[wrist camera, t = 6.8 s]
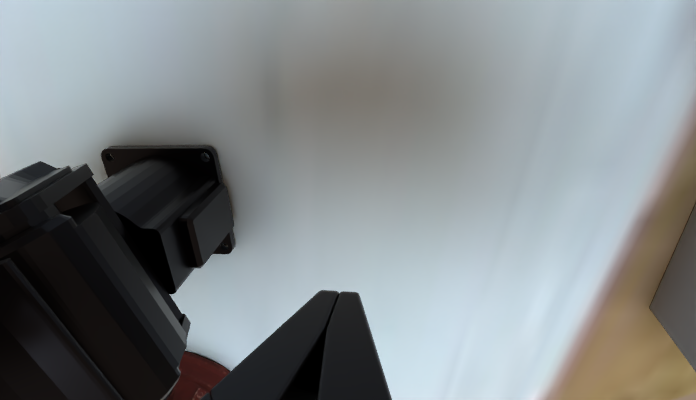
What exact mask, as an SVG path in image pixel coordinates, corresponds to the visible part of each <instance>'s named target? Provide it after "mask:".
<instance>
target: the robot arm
mask: <svg viewBox="0 0 696 400" xmlns="http://www.w3.org/2000/svg"><path fill="white" fill-rule="evenodd" d="M204 153H207V154H208V155H209V157H210V159H207V158H205V156H204ZM110 154H112V155H113V156H114V159H113V158H112V157H111V156H110ZM101 157H102V161H103V164H104V167H105V170H106V173H107V176H108V178H107V179H106V180H104V181H102V182H101V183H99V184H98V185H97V184H96V182H95V181H94V179H93V178H92V176H93V175H94V174H93V173H92V171H91V170H90V168H89V167H88V165H87V164H86V163H85V164H83V165H80V166H77V167H75V168H72V169H71V168H70V167H69V166H67V167H64V168H61V169H60V168H58V169H57V168H55V167H52V166H50V165H48V164H46V163H43V162H41V161H40V162H37V163H35V164H32V165H30V166H27V167H25V168H23V169H21V170H19V171H16V172H14V173H12V174H10V175H8V176H5V177H3V178H1V179H0V400H167V398H168V396H169V395H170V393H171V391H172V389H173V387H174V386H175V385H176V383H177V382H178V380H179V377H180V374H181V371H180V370H179V365H180V362H181V358H182V356H183V354H184V351H185V349H186V347H187V341H186V339H187V335H188V332H189V328H190V324H191V323H190V321H189V320H188V318H187V317H186V315H185V314H182V313H181V312H180V310H179V309H178V307H177V306H176V304H175V303H174V301H173V300H172V298H171V297H170V295H169V294H174V293H175V292H176V291H177V290H178V289H179V287H180V286H181V285H182V283H183V282H184V281H185V280H186V278H187V277H188V276H189V275H190V273H191V272H192V271H193V270H194V268H201V267H202V266H203V265H204V264H205V263H206V261H207V260H208V259H209V258H210V256H211V255H212V254H229V253H231V252H232V250H233V249H234V247H235V241H234V236H233V231H232V228H233V226H234V222H233V217H232V212H231V207H230V202H229V197H228V192H227V187H226V186H225V185H224V184H223V181H222V176H221V171H220V166H219V161H218V156H217V153H216V151H215V150H214V149H213V148H212V147H210V146H111V147H108V148H106V149H104V150H103V151H102V153H101ZM223 243H225V244H227V245H228V247H226V246H224V245H223ZM200 400H392V398H391V395H390V392H389V389H388V385H387V382H386V379H385V376H384V372H383V369H382V366H381V363H380V360H379V356H378V353H377V350H376V347H375V344H374V340H373V337H372V334H371V331H370V328H369V324H368V321H367V318H366V315H365V312H364V308H363V305H362V302H361V299H360V296H359V294H358V293H357V292H341V293H340V294H339V292H337V291H327V290H321V291H319V292H318V293H317V294H316V295H315V296H314V297H313V298H311V299H310V300H309V301H308V302H307V303H306V304H305V305H304V306H303V307H301V308H300V309H299V310H298V311H297V312H296V313H295V314H294V315H293V316H292V317H290V318H289V319H288V320H287V321H286V322H285V323H284V324H283V325H282V326H281V327H279V328H278V329H277V330H276V331H275V332H274V333H273V334H272V335H271V336H269V337H268V338H267V339H266V340H265V341H264V342H263V343H262V344H261V345H260V346H258V347H257V348H256V349H255V350H254V351H253V352H252V353H251V354H250V355H248V356H247V357H246V358H245V359H244V360H243V361H242V362H241V363H240V364H239V365H237V366H236V367H235V368H234V369H233V370H232V371H231V372H230V373H229V374H228V375H226V376H225V377H224V378H223V379H222V380H221V381H220V382H219V383H218V384H216V385H215V386H214V387H213V388H212V389H211V390H210V393H206V394H205V395H204V396H203V397H202V398H201V399H200Z"/></svg>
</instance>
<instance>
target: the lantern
mask: <svg viewBox="0 0 696 400" xmlns="http://www.w3.org/2000/svg"><path fill="white" fill-rule="evenodd" d="M179 370H180V371H181V374H180V377H179V380H178V382H177V383H176V385H175V386H174V387H173V389H172V391H171V393H170V395H169V396H168V398H167V400H200V399H201V398H202V397H203V396H204V395H205V394H206V393H210V390H211V389H212V388H213V387H214V386H215V385H216V384H218V383H219V382H220V381H221V380H222V379H223V378H224V377H225V376H226V375H228V374H229V373H230V371H228V370H227V369H226V368H225V367H223V366H221V365H219V364H217V363H215V362H213V361H211V360H208V359H206V358H204V357H201V356H199V355H196V354H194V353H191V352H184V354H183V356H182V358H181V362H180V365H179Z"/></svg>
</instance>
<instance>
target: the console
mask: <svg viewBox="0 0 696 400" xmlns="http://www.w3.org/2000/svg"><path fill="white" fill-rule="evenodd" d="M650 310H651V311H652V312H653V314H654V315H655V316H656V318H657V319H658V321H659V322H660V323H661V325H662V326H663V327H664V329H665V330H666V332H667V333H668V334H669V336H670V337H671V338H672V340H673V341H674V343H675V344H676V345H677V347H678V348H679V349H680V351H681V352H682V354H683V355H684V356H685V358H686V359H687V360H688V362H689V363H690V365H691V366H692V367H693V369H694V370H695V371H696V204H695V206H694V209H693V211H692V213H691V215H690V218H689V220H688V222H687V224H686V227H685V229H684V231H683V233H682V236H681V238H680V240H679V242H678V245H677V247H676V249H675V251H674V254H673V256H672V258H671V260H670V263H669V265H668V267H667V269H666V272H665V274H664V276H663V278H662V281H661V283H660V285H659V287H658V290H657V292H656V294H655V296H654V299H653V301H652V303H651V305H650Z"/></svg>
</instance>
